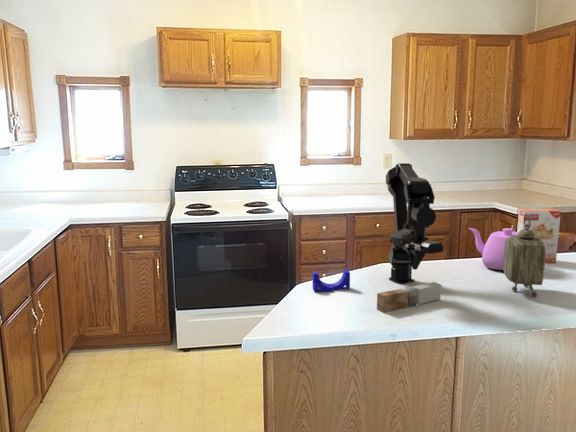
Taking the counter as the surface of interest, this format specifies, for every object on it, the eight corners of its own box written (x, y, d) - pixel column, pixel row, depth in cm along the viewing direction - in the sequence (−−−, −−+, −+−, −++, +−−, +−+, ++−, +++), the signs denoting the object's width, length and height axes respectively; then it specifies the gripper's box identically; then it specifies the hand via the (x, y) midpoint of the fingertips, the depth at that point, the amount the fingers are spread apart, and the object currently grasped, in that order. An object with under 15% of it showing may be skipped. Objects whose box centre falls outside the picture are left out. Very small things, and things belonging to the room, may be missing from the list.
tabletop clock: (541, 299, 160) (548, 220, 156) (510, 297, 162) (516, 219, 157) (530, 285, 174) (535, 212, 170) (501, 284, 176) (506, 211, 171)
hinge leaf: (409, 306, 153) (410, 291, 152) (400, 303, 157) (401, 288, 156) (441, 299, 160) (442, 284, 159) (432, 296, 163) (432, 281, 162)
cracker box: (520, 263, 202) (524, 210, 198) (514, 259, 208) (518, 208, 204) (557, 263, 201) (561, 210, 198) (550, 259, 207) (554, 208, 204)
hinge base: (410, 302, 158) (411, 286, 158) (419, 305, 155) (419, 289, 154) (376, 309, 153) (376, 292, 152) (384, 313, 149) (384, 296, 148)
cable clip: (314, 293, 168) (314, 275, 167) (312, 288, 173) (312, 271, 172) (350, 291, 170) (351, 273, 169) (347, 287, 174) (347, 270, 173)
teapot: (535, 263, 201) (538, 225, 199) (524, 276, 184) (527, 235, 182) (475, 255, 214) (477, 220, 212) (460, 267, 197) (462, 228, 195)
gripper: (377, 218, 165) (376, 265, 168) (416, 227, 149) (414, 280, 151) (404, 215, 170) (403, 261, 173) (445, 224, 154) (443, 275, 156)
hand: (414, 269), depth 163 cm, fingers closed
